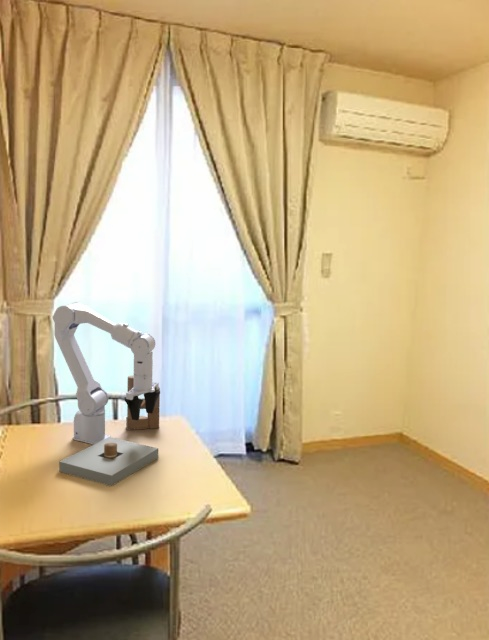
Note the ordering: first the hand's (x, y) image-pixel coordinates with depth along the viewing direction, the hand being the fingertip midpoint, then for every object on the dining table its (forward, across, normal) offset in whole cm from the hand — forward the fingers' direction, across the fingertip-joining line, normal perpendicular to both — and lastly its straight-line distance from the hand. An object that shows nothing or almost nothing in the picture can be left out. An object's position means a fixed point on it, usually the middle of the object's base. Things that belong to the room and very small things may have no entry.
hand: (142, 416), depth 184 cm
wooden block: (+10, +13, +9) cm, 18 cm away
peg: (+9, -17, -1) cm, 19 cm away
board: (+9, -17, -1) cm, 19 cm away
